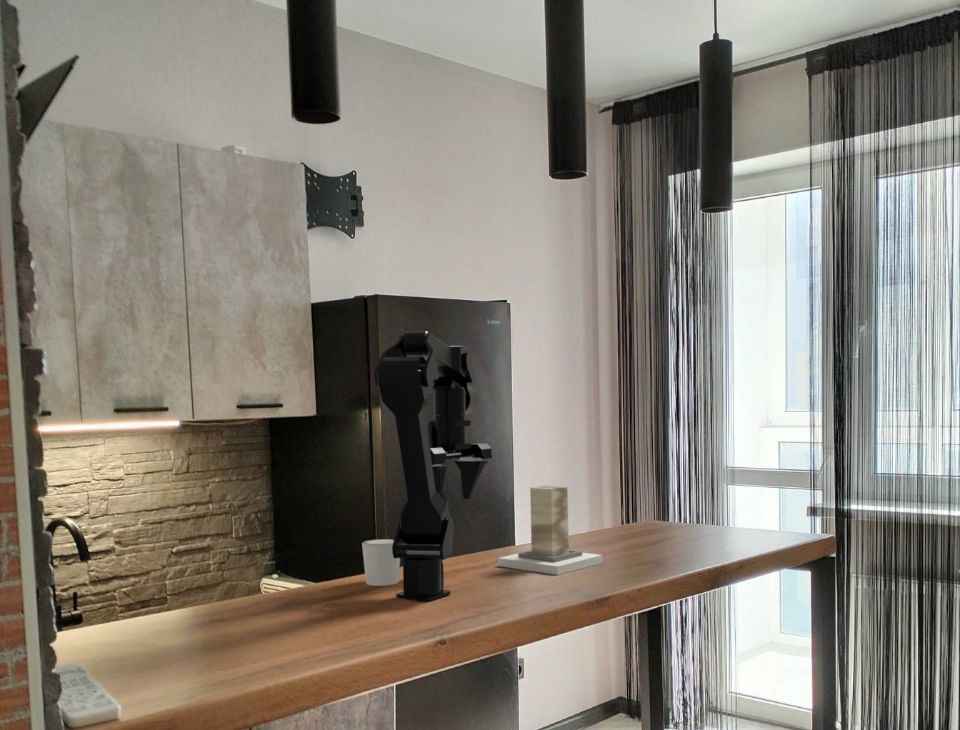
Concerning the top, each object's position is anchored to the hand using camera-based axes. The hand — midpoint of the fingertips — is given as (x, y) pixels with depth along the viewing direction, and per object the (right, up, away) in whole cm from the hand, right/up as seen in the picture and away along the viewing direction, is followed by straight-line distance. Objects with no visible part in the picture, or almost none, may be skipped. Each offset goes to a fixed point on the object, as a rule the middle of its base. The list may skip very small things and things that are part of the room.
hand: (451, 501), depth 152 cm
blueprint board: (+18, -13, +7) cm, 24 cm away
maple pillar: (+18, -12, +8) cm, 23 cm away
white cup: (-12, -13, -6) cm, 19 cm away
